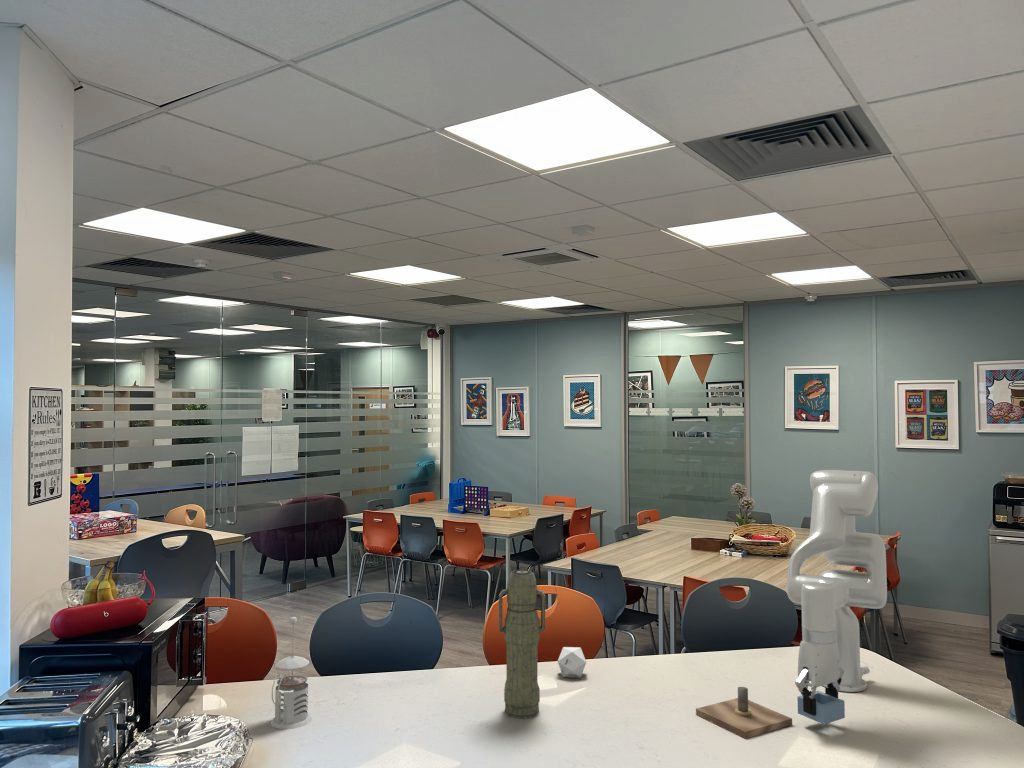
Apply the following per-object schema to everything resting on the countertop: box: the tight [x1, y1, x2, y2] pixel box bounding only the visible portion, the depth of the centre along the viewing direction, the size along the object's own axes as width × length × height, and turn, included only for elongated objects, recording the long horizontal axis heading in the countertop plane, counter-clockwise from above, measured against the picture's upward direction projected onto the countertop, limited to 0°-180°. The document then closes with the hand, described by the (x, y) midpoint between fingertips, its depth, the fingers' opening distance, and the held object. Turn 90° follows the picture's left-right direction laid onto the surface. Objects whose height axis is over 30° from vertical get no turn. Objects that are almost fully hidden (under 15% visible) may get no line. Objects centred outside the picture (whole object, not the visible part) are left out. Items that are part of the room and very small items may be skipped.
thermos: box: [498, 569, 546, 719], centre depth 185 cm, size 9×12×35 cm
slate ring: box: [796, 690, 846, 726], centre depth 174 cm, size 7×7×4 cm
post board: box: [695, 686, 793, 739], centre depth 179 cm, size 16×16×8 cm
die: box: [557, 646, 587, 679], centre depth 211 cm, size 8×9×10 cm
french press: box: [270, 616, 313, 730], centre depth 178 cm, size 10×12×25 cm
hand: (821, 709), depth 174 cm, fingers closed on slate ring, 7 cm apart
